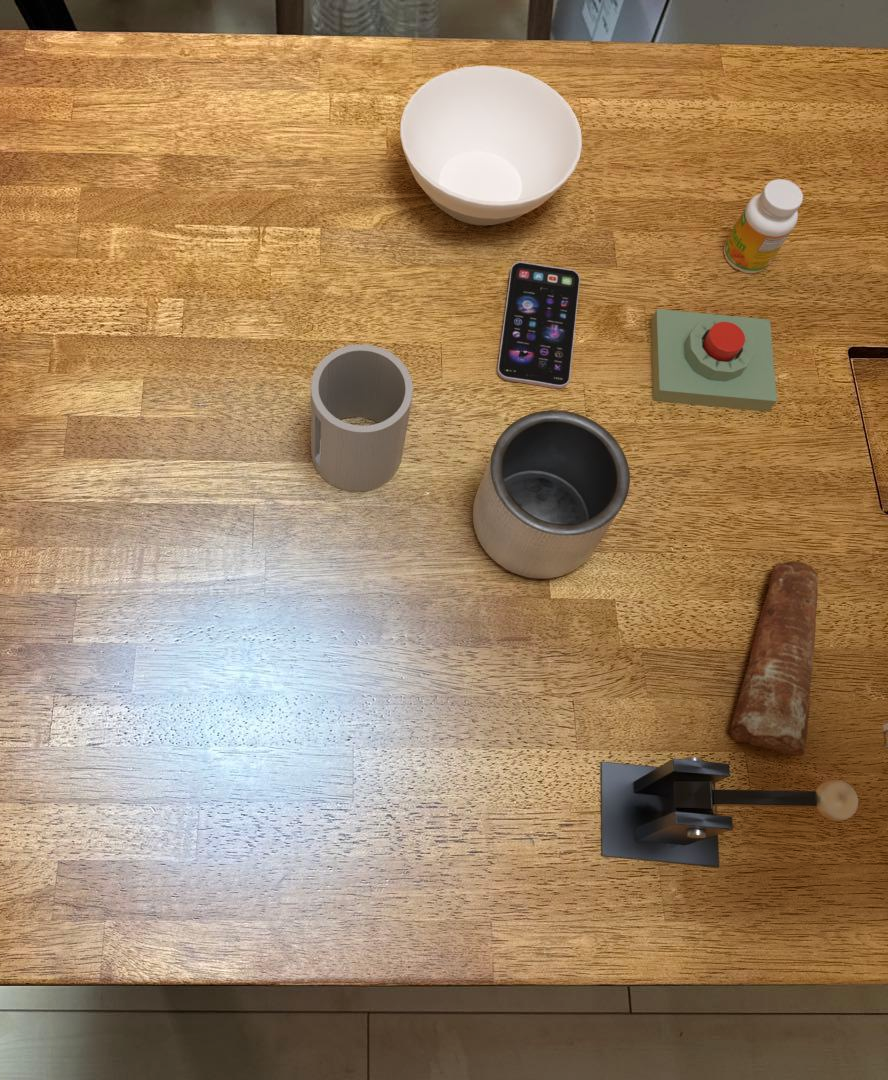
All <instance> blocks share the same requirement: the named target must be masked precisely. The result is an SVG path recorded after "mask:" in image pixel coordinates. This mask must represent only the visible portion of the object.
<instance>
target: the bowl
mask: <svg viewBox="0 0 888 1080" xmlns="http://www.w3.org/2000/svg"><path fill="white" fill-rule="evenodd" d="M399 139H400V142H401V147H402V151H403V153H404V156H405V159H406V162H407V164H408V167H409V169H410V171H411V174H412V175H413V178H414V179H415V182H416V183H417V184H418V185H419V186H420V187H421V189H422V190H423V191H424V193H425V194H426V196H428V198H429V199H430V200H431V201H432V202H433V204H434V205H435V206H437V207H438V209H440V210H441V211H442V212H444V213H446V214H447V215H448V216H450V217H451V218H454V219H455V220H457V221H459V222H463V223H465V224H469V225H473V226H485V227H486V226H494V225H499V224H504V223H507V222H511V221H514V220H516V219H518V218H521V217H522V216H524V215H525V214H528V213H530V212H531V211H533V210H535V209H537V208H539V207H540V206H542V205H543V204H544V203H546V202H547V201H548V200H550V199H551V197H552V196H553V195H555V194H556V192H558V191H559V190H560V188H561V187H562V186H563V185H564V184H565V183H566V182H567V181H568V180H569V178H570V177H571V176H572V174H574V172H575V170H576V168H577V166H578V163H579V162H580V159H581V154H582V148H583V138H582V129H581V127H580V123H579V120H578V117H577V116H576V114H575V112H574V110H573V109H572V107H571V106H570V104H569V103H568V102H567V101H566V99H565V98H564V97H563V96H562V95H561V94H560V93H559V92H558V91H556V90H555V89H554V88H553V87H551V86H550V85H548V83H546V82H544V81H542V80H540V79H539V78H536V77H534V76H533V75H530V74H528V73H524V72H522V71H519V70H517V69H513V68H507V67H502V66H494V65H492V66H491V65H473V66H464V67H459V68H456V69H452V70H447V71H445V72H444V73H441V74H439V75H437V76H434V77H432V78H431V79H430V80H428V81H427V82H426V83H424V84H422V85H421V86H420V87H419V88H418V89H417V90H416V91H415V92H414V93H413V94H412V95H411V97H410V98H409V100H408V101H407V103H406V105H405V107H404V108H403V110H402V115H401V118H400V122H399Z"/></svg>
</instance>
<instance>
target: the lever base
mask: <svg viewBox="0 0 888 1080" xmlns="http://www.w3.org/2000/svg"><path fill="white" fill-rule="evenodd" d="M599 763H600V764H599V766H600V768H599V769H600V771H599V772H600V779H599V781H600V856H601V857H606V858H616V859H626V860H636V861H647V862H659V863H668V864H677V865H687V866H688V865H689V866H698V867H709V868H720V851H719V835H720V834H724V833H727V832H730V831H732V830H733V831H734V824H733V823H734V821H733V816H731V815H720V814H718V813H717V812H718V811H717V806H715V811H716V813H715V814H701V813H691V812H680V811H677V810H676V809H675V798H674V780H706V781H711V782H712V784H713V786H714V789H716V784H717V783H719V782H721V781H724V780H725V779H728V778H730V777H731V770H730V763H726V762H725V763H724V762H716V761H706V760H705V761H704V760H703V758H701V757H697V756H688V757H684V758H671V759H670V760H668V761H667V762H665V763H663V764H661V765H660V766H653V765H644V764H643V765H642V764H632V763H621V762H612V761H611V762H609V761H600V762H599Z"/></svg>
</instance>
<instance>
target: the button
mask: <svg viewBox="0 0 888 1080" xmlns="http://www.w3.org/2000/svg"><path fill="white" fill-rule="evenodd" d="M744 343H745V335H744V333H743V331H742V330H741V329H740V328H739V327H738V326H737V325H735V324H733V323H730V322H719V323H716V324H715V325H713V326H712V328H711V329H710V331H709V332H708V334H707V336H706V337H705V339H704V349H705V351H706V352H707V354H708V355H709V356H711V357H712V358H714V359H716V360H719V361H728V360H731V359H733V358H735V357H736V355H737V354H738V353H739V351H740V350H741V348H742V347H743V345H744Z"/></svg>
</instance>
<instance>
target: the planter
mask: <svg viewBox="0 0 888 1080" xmlns="http://www.w3.org/2000/svg"><path fill="white" fill-rule="evenodd" d="M630 473H631V472H630V467H629V463H628V460H627V456H626V454H625V452H624V450H623V448H622V447H621V445H620V443H619V442H618V441H617V440H616V439H615V437H614V436H613V435H612V434H611V433H610V432H609V431H608V430H607V428H605V427H603V426H602V425H601V424H599V423H597V422H596V421H594V420H593V419H591V418H589V417H587V416H585V415H581V414H579V413H576V412H572V411H568V410H559V409H558V410H557V409H549V410H548V409H547V410H540V411H535V412H532V413H529V414H526V415H524V416H522V417H520V418H518V419H516V420H515V421H513V422H512V423H511V424H509V425H508V426H507V427H505V429H504V430H503V432H502V433H501V434H500V436H499V437H498V438H497V440H496V442H495V444H494V446H493V449H492V452H491V453H490V457H489V459H488V462H487V465H486V468H485V471H484V473H483V476H482V478H481V481H480V483H479V486H478V489H477V491H476V494H475V496H474V500H473V505H472V523H473V529H474V532H475V535H476V537H477V540H478V542H479V544H480V545H481V547H482V549H483V550H484V551H485V553H486V554H487V555H488V556H489V558H491V559H492V560H493V561H494V562H495V563H497V565H499V566H500V567H502V568H504V569H505V570H507V571H508V572H510V573H513V574H514V575H515V574H516V575H518V576H520V577H521V576H522V577H525V578H530V579H536V580H537V579H538V580H539V579H540V580H542V579H543V580H544V579H545V580H547V579H554V578H559V577H562V576H565V575H567V574H570V573H572V572H574V571H575V570H578V568H580V567H581V566H583V564H585V563H586V562H587V561H588V560H589V559H590V558H591V556H592V555H593V554H594V553H595V551H596V550H597V548H598V546H599V545H600V543H601V541H602V540H603V538H604V537H605V535H606V534H607V531H608V530H609V529H610V527H611V525H612V524H613V522H614V521H615V519H616V518H617V516H618V514H619V513H620V512H621V510H622V508H623V506H624V504H625V502H626V500H627V498H628V495H629V490H630V484H631V474H630Z"/></svg>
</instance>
